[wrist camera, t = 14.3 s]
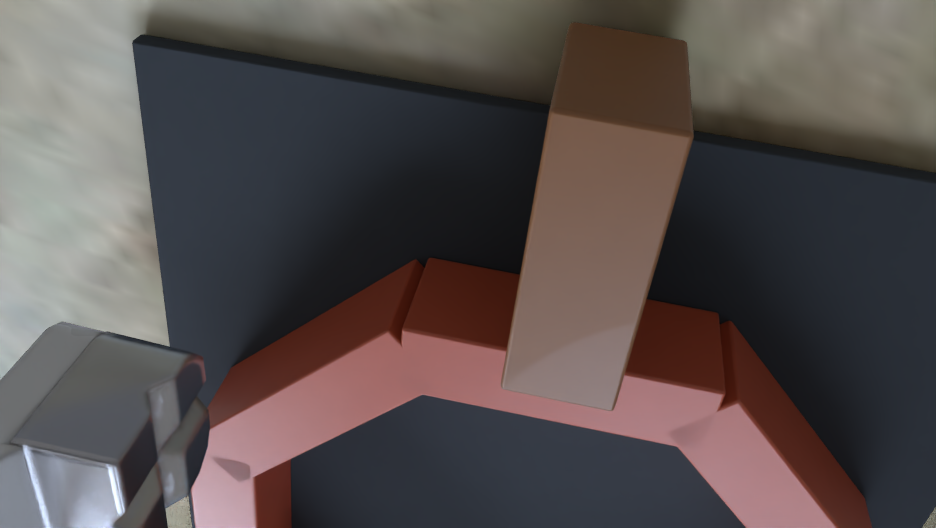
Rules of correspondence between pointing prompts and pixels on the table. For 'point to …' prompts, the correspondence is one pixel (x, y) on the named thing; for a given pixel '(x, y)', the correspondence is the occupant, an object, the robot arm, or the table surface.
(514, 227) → the mat
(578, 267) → the hoop
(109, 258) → the table surface
